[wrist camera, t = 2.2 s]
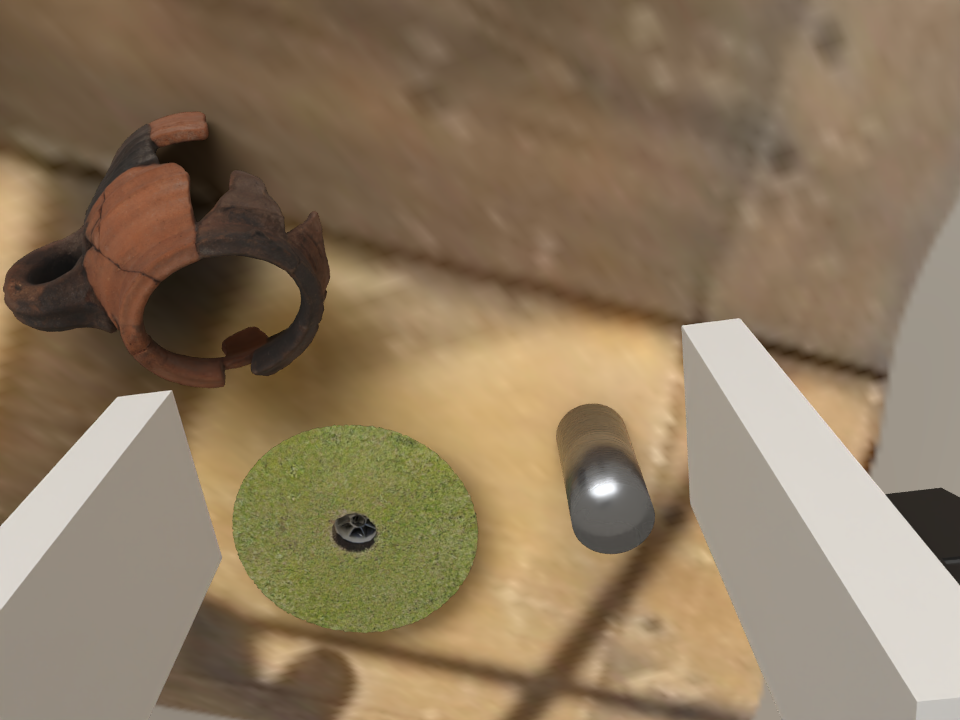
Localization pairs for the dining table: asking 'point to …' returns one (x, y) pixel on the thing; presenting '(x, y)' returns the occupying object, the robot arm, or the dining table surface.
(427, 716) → the dining table surface
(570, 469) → the posts
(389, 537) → the green disc
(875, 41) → the dining table surface
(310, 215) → the pottery mug
